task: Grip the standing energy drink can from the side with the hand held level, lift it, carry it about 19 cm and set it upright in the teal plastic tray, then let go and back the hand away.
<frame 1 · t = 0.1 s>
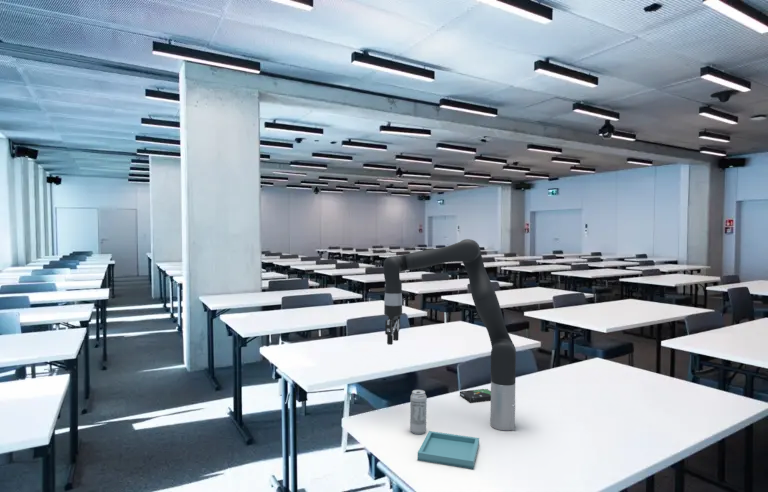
hand: (392, 342, 188), 29 cm above the table, tool pointing down, fingers open, 8 cm apart
disk drive: (478, 399, 207), on the table
tray: (449, 452, 152), on the table
energy drink can: (418, 432, 169), on the table
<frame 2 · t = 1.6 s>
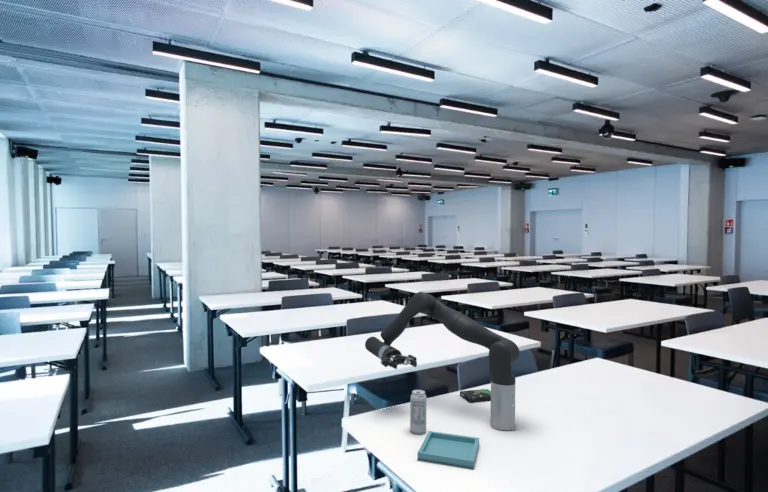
hand: (406, 365, 179), 22 cm above the table, tool horizontal, fingers open, 8 cm apart
nothing on the table moved.
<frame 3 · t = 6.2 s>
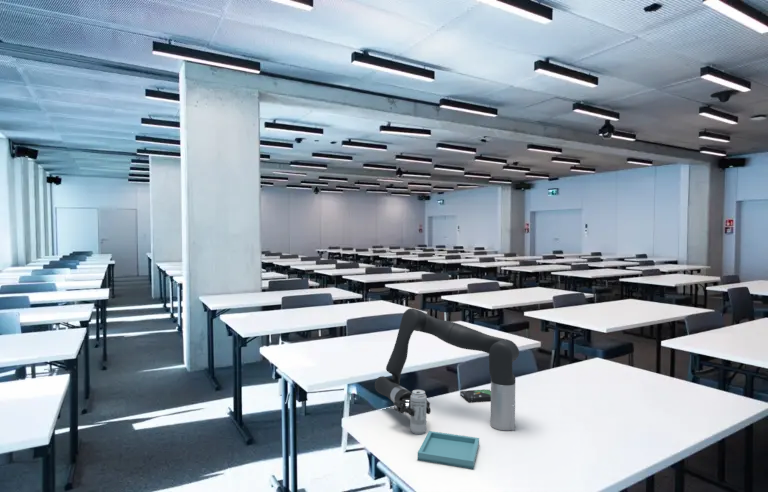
hand: (421, 412, 167), 8 cm above the table, tool horizontal, fingers closed on energy drink can, 6 cm apart
energy drink can: (418, 432, 169), on the table, touching gripper
everything else where it was.
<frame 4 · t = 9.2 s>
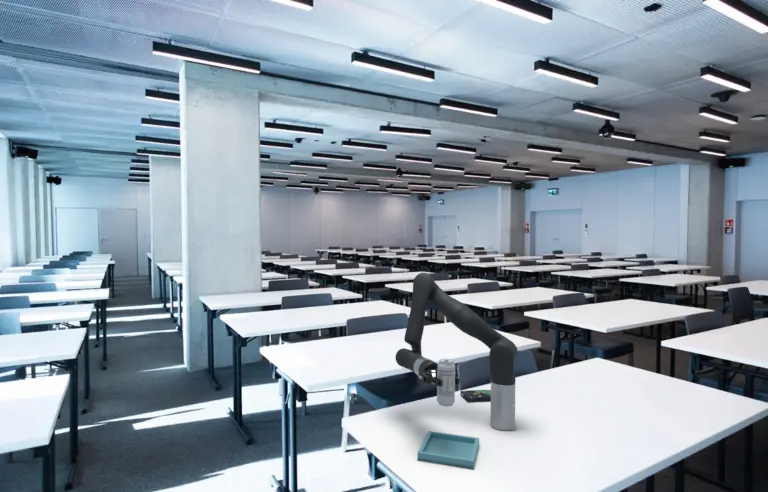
hand: (449, 382, 152), 24 cm above the table, tool horizontal, fingers closed on energy drink can, 6 cm apart
energy drink can: (445, 404, 154), point 16 cm above the table, touching gripper
everything else where it was.
when the fingers open (10 cm above the table, at t = 12.7 s): energy drink can stays where it is, resting on tray.
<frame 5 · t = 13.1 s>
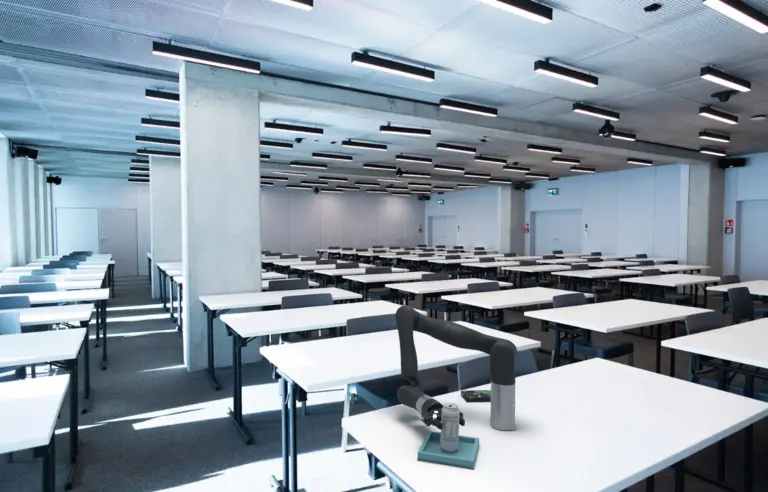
hand: (452, 425, 151), 10 cm above the table, tool horizontal, fingers open, 8 cm apart
energy drink can: (449, 450, 152), point 1 cm above the table, touching tray
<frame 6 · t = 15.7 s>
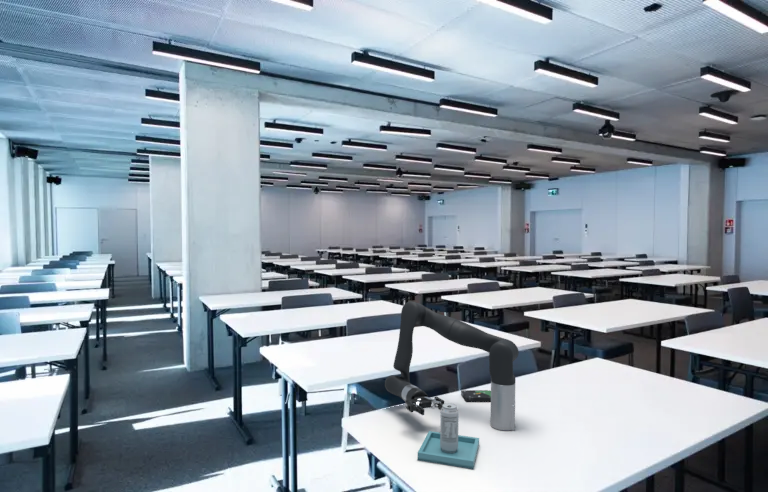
hand: (434, 410, 163), 10 cm above the table, tool horizontal, fingers open, 8 cm apart
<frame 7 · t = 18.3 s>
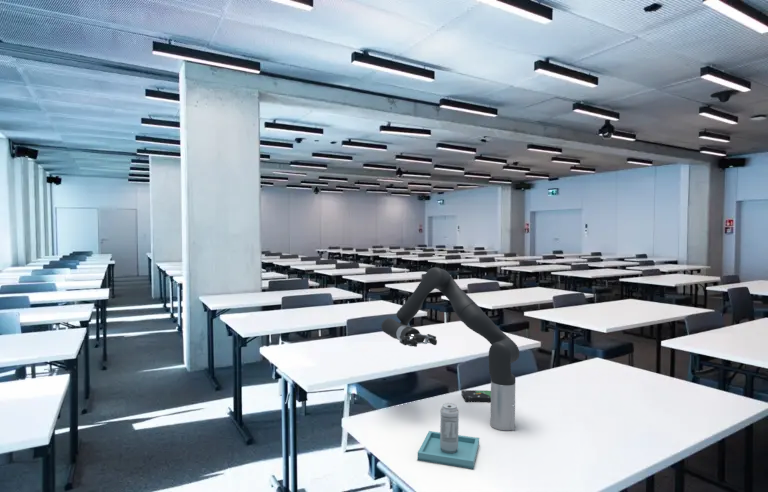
hand: (426, 343, 175), 32 cm above the table, tool horizontal, fingers open, 8 cm apart
at the end: energy drink can inside the target area on the tray (0.2 cm from its centre), point 0.6 cm above the tray's base; energy drink can tilted 0°; the gripper is holding nothing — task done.
